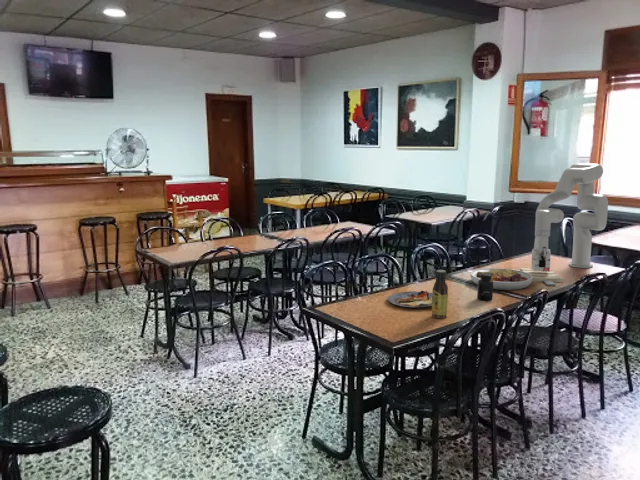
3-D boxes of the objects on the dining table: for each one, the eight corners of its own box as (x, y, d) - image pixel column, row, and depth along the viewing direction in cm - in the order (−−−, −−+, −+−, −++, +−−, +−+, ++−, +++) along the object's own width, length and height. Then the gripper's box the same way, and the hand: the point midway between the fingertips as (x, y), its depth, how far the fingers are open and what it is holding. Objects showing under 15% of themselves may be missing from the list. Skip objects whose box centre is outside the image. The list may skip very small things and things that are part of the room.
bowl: (458, 279, 273) (459, 265, 271) (506, 274, 282) (506, 261, 280) (494, 294, 245) (494, 278, 243) (545, 288, 254) (546, 273, 252)
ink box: (547, 269, 278) (548, 248, 276) (549, 271, 273) (551, 250, 271) (530, 269, 279) (531, 248, 277) (533, 271, 274) (534, 249, 272)
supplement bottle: (484, 302, 231) (485, 276, 229) (473, 298, 237) (474, 273, 235) (495, 300, 234) (497, 275, 232) (484, 296, 240) (485, 271, 238)
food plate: (431, 293, 247) (431, 286, 246) (451, 308, 224) (451, 300, 223) (381, 298, 243) (381, 291, 242) (397, 313, 220) (397, 306, 219)
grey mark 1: (542, 282, 265) (542, 280, 264) (550, 283, 264) (550, 280, 264) (544, 284, 261) (544, 282, 261) (552, 285, 260) (552, 282, 260)
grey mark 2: (547, 284, 257) (546, 286, 257) (555, 284, 256) (555, 287, 256) (545, 282, 260) (544, 284, 261) (553, 282, 260) (553, 285, 260)
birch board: (520, 271, 287) (520, 268, 287) (549, 272, 285) (550, 268, 285) (530, 281, 266) (530, 277, 265) (562, 282, 264) (562, 278, 263)
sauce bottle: (429, 314, 216) (430, 268, 212) (444, 314, 216) (445, 268, 213) (434, 319, 209) (435, 272, 206) (449, 319, 210) (450, 272, 206)
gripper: (530, 230, 281) (529, 262, 285) (539, 235, 265) (537, 269, 268) (545, 230, 280) (543, 262, 284) (554, 235, 264) (552, 269, 267)
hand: (540, 265), depth 276 cm, fingers closed on ink box, 5 cm apart
